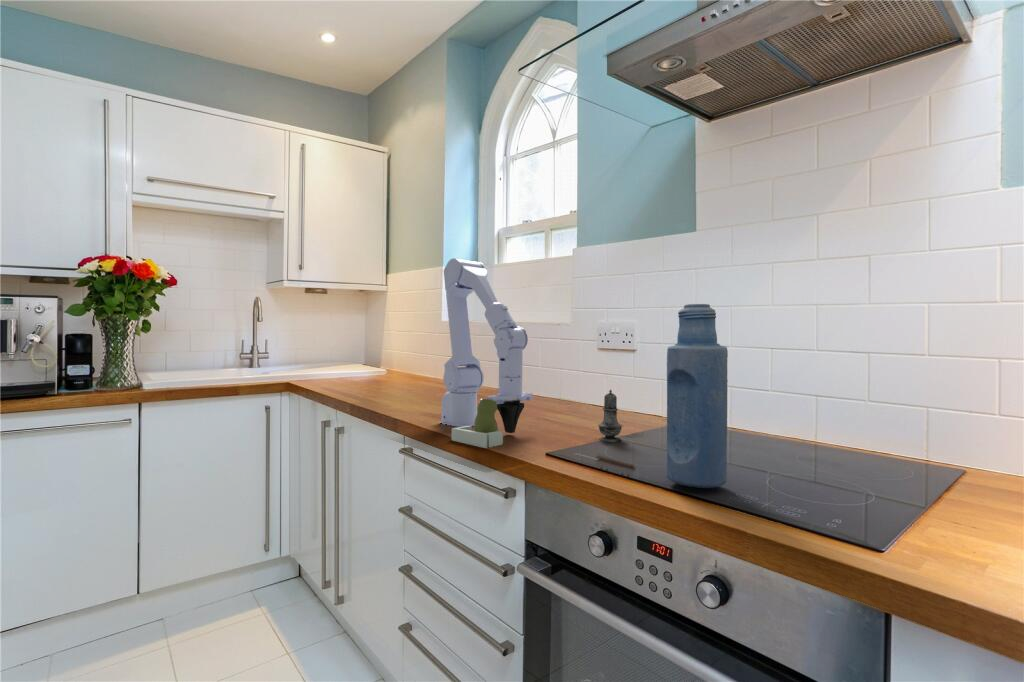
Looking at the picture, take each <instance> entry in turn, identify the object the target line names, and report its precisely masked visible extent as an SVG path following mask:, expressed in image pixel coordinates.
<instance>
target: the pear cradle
mask: <svg viewBox="0 0 1024 682" xmlns="http://www.w3.org/2000/svg"><path fill="white" fill-rule="evenodd" d="M472 427H473V426H464V427H452V428H451V441H453V442H457V443H462V444H466V445H470V446H475V447H478V448H483V449H488V447H489V448H494V447H497V446H501V445H503V443H504V440H503V439H504V433H503V432H504V431H503V430H498V431H495V432H490V433H481V432H476V431H475V430H473V428H472ZM493 446H494V447H493Z"/></svg>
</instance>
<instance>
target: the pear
mask: <svg viewBox="0 0 1024 682" xmlns="http://www.w3.org/2000/svg"><path fill="white" fill-rule="evenodd" d="M479 401H480V402H479V403H477V416H476V418H475V423H474V426H473V427H474V431H476V432H481V433H490V432H495V431H499V426H498V423H497V420H496V416H495V414H496V412H497V411H498V409H497V403H496V401H493V400H487V398H480V400H479Z"/></svg>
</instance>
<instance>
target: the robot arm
mask: <svg viewBox="0 0 1024 682" xmlns="http://www.w3.org/2000/svg"><path fill="white" fill-rule="evenodd" d="M443 278H444V279H443V280H444V290H445V296H446V297H445V298H446V306H447V307H446V309H447V317H448V327H449V336H450V337H449V338H450V348H451V357H450V358H449V359H448V360H447V361H446V362H445V363H444V365H443V366H444V374H443V383H444V386H445V388H446V389H447V391H446V392H445V393H444V395H443V396H442V398H441V421H439V422H438V423H439V424H440V423H442V424H441V425H445V424H447V425H446V426H450V425H451V427H455V428H457V427H464V426H472V427H474V423H475V418H476V416H477V407H478V392H480V388H481V387H483V384H484V380H485V379H484V378H485V377H484V371H483V370H482V367H481V362H480V360H479V359H478V358H477V357H475V356H474V355H473V351H472V340H471V329H470V322H469V320H470V319H469V313H468V312H469V311H468V310H469V309H468V301H467V298H468V296H469V295H470V294H472V293H473V292H474V293H475V294H476V297H477V298H478V299H479V301H480V302H481V304H482V305H483V306H484V309H485V310H484V317H485V319H486V320H487V323H488V324H489V327H490V328H491V330H492V332H493V334H494V336H495V337H494V338H493V343H494V346H495V348H496V355H497V358H498V394H494V395H487V396H486V400H493V401H496V403H497V411H498V412H499V413H498V414H499V415H500V417H501V421H502V423H503V427H504V432H505V433H508V434H513V433H515V432H516V429H517V424H518V421H519V418H520V415H521V413H522V412H523V410H524V408H525V403H524V402H527V401H528V402H530V401H533V393H532V392H523V351H524V349H526V347H527V345H528V340H529V339H528V334H527V331H526V330H525V328H524V327H522V326H521V327H520V326H519V325H518V324H517V323H516V322H515V321H514V319H513V316H511V313H510V312H509V308H508V306H507V305H506V304H504V303H501V302H498V300H497V298H496V296H495V293H494V291H493V289H492V286H491V284H490V282H489V280H488V270H487V269H486V267H485V264H484V263H482V262H481V261H473V260H472V261H471V260H465V259H458V258H455V257H454V258H450V259H449V260H448V262H447V263H446V265H445V267H444V269H443Z"/></svg>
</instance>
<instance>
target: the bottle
mask: <svg viewBox="0 0 1024 682" xmlns="http://www.w3.org/2000/svg"><path fill="white" fill-rule="evenodd" d="M677 317H678V324H679V325H678V330H677V331H678V332H677V341H676V343H675V344H674V345H670V346H668V347H667V351H666V478H667V479H668V480H669V481H671V482H672V483H674V484H677V485H681V486H685V487H693V488H700V489H701V488H702V489H703V488H704V489H708V488H718V487H722V486H724V485H725V484H727V478H728V476H727V473H728V471H727V467H728V466H727V465H728V463H727V462H728V460H727V455H728V452H727V448H728V447H727V446H728V442H727V441H728V440H727V439H728V358H729V357H728V356H729V355H728V354H729V353H728V348H727V346H724V345H721V344H720V343H718V335H717V329H716V318H717V313H716V310H715V308H712V307H711V305H710V304H709V303H691V304H690V303H689V304H688V303H687V304H685V305H683V308H681V309H680V310H679V311H678V315H677Z"/></svg>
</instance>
